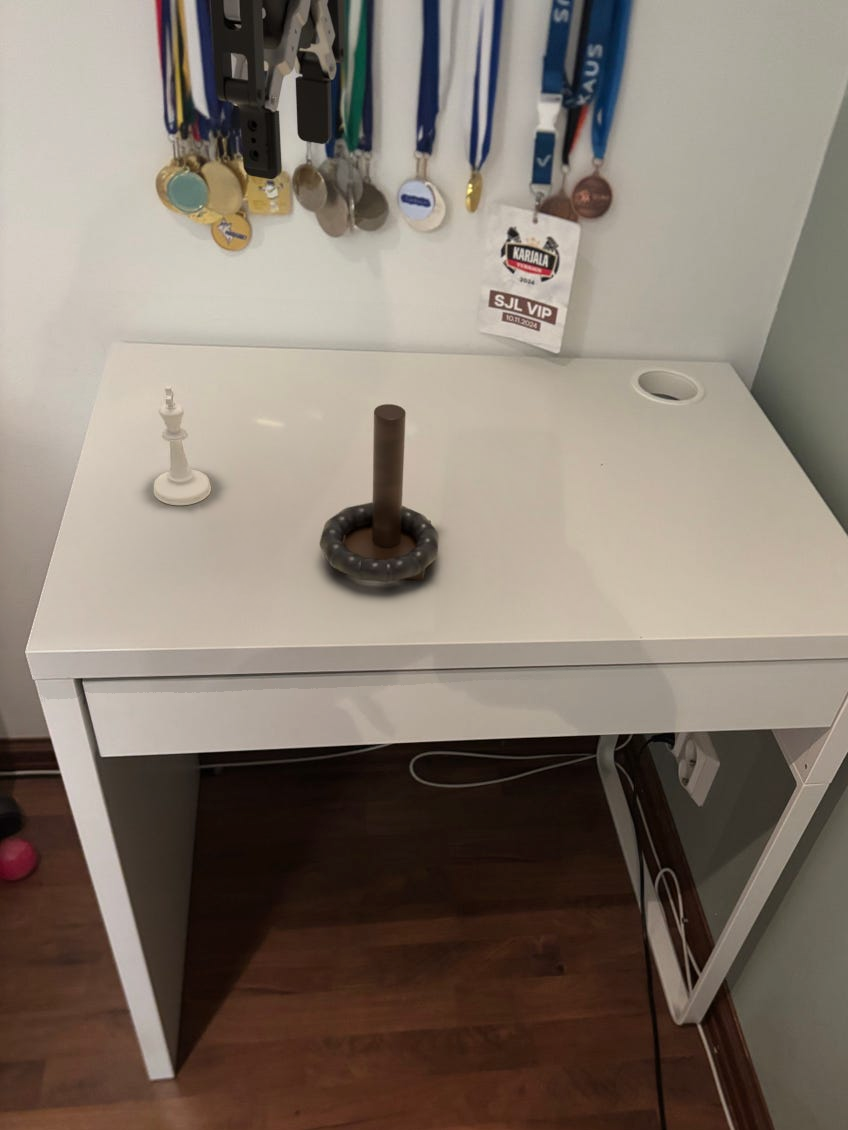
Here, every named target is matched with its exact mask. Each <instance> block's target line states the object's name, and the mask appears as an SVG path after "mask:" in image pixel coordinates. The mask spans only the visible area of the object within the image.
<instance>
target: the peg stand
mask: <svg viewBox="0 0 848 1130" xmlns="http://www.w3.org/2000/svg"><path fill="white" fill-rule="evenodd" d="M405 435H406V410H405V409H404V408H403V407H402V406H399V405H397V404H392V403H385V404H380V405H378V406H376V407H375V408H374V410H373V439H372V441H373V445H372V446H373V447H372V449H373V450H372V453H373V454H372V502H373V508H372V524H370V525H365V526H361V527H356V528H354V529H353V530H351V531H350V532H349V533H347V534H346V535H345V536H344V539H343V543H344V544H345V546H346V547H347V549H348V550H350V551H352V552H354V553H356V554H358V555H360V556H362V557H365V558H376V559H391V558H395V557H399V556H403V555H407V554H408V553H409V552H410V551H411V550H413V549H414V548H415V547H416V543H417V540H416V539H415V537H414V536H413V535H412V534H411V532H408V531H406V530H404V529H402V528H401V518H402V506H403V492H404V491H403V490H404V489H403V487H404V467H405V466H404V465H405V464H404V463H405V462H404V461H405V438H406V436H405ZM428 521H429V522H430V523H431V524H432V521H431V520H430V519H428ZM338 572H339V573H342V572H341V571H339V570H338ZM425 572H426V568H425V569H424V570H422V571H421V572H420V573H419V574H417V575H415V576H412V577H408V578H406V579H407V580H408V579H409V580H419V581H423V580H424V578H425Z"/></svg>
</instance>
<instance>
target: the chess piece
mask: <svg viewBox="0 0 848 1130" xmlns="http://www.w3.org/2000/svg"><path fill="white" fill-rule="evenodd" d="M164 392H165V399H164V401H165V403H164V404H161V406H160V407H159V408H158V414H159V415H160V417H161V419H162V421H163V422H164V424H165V427H166V428H165V429H163V431H162V432H161V438H162V440H164V441H167V442H169V452H170V453H169V460H170V461H169V465H170V466H169V470H168V471H166V472H163V473H162V474H160V475H159V476H158V477H156V478H155V480H154V482H153V495H154V496H155V498H156V499H157V500H158V501H160V502H162V503H165V504H167V505H170V506H171V505H172V506H189V505H193V504H197V503H200V502H202V501H203V500H205V499H206V498H208V497H209V495H210V493H211V491H212V486H211V484H210V483H211V482H210V479H209V477H208V476H207V475H206V474H205V473H204V472H203V473H202V472H201V471H199V470H195V469H191V468H190V466H189V463H188V459H187V455H186V453H185V449H184V445H183V441H185V440H186V439H187V438H188V436H189V433H188V431H187V430H186V429H185V428H183V427H181V425H182V421H183V416H184V413H185V408H184V407H183V405H181V404H179V403H177V402H174V395H175V393H174V389H173V388H172V386H171V385H165V387H164Z"/></svg>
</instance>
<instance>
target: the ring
mask: <svg viewBox="0 0 848 1130" xmlns="http://www.w3.org/2000/svg"><path fill="white" fill-rule="evenodd" d="M372 508H373V501H372V502H367V503H362V504H357V505H352V506H347V507H345V508H342V510H340V511H339V512H338V513H336V514H335V515H333V516H332V517H331V518H329V519H328V520H326V521H325V523H324V526H323V528H322V533H321V536H320V540H319V548H320V551H321V552H322V553H323V555H324V556H325V558H326V559H327V561H328V562H329V564H330V565H331V567H332V568H334V569H336V570H338V572H339V571H341V572H340V573H342V574H346V575H347V576H350V577H352V578H354V579H356V580H358V581H359V580H360V581H368V582H380V583H391V582H395V581H399V580H404V579H407V578H408V577H412V576H415V575H417V574H419V573H420V572H421V571H422V570H424V569H425V570H426V568H427V567H428V566H430V565H431V564H432V563H433V562H434V561H435V560H436V559H437V557H438V551H439V542H440V535H439V532H438V531H437V529H436V528H435V527H434V526H433V524H432V522H431V523H430V522H429V521H428V520H429V519H428V518H427V517H426V516H425V515H424V514H422V513H420V512H418V511H416V510H413V509H412V508H408V507H406V506H404V505H402V518H401V528H402V529H404V530H406V531H408V532H411V534H412V535H413V536H414V537H415V539H416V540H417V543H416V547H415V548H414V549H413V550H411V551H410V552H409V553H408V554H407V555H403V556H399V557H395V558H391V559H376V558H365V557H362V556H360V555H358V554H356V553H354V552H352V551H350V550H348V549H347V547H346V546H345V544H344V543H343V542H344V538H345V535H346V534H347V533H349V532H350V531H351V530H353V529H354V528H356V527H361V526H365V525H370V524H372Z"/></svg>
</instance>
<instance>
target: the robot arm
mask: <svg viewBox="0 0 848 1130" xmlns="http://www.w3.org/2000/svg"><path fill="white" fill-rule="evenodd" d="M209 1H210V17H211V32H212V48H213V63H214V64H213V65H214V80H215V83H214V84H215V93H216V97H217V99H218V100H219V101H223V102H229V103H232V105H233V106H236V107H238V110H239V125H240V135H241V137H240V139H241V152H242V167H243V170H244V171H245V173H246V174H247V175H248V176H250V177H254V178H259V179H260V178H261V179H266V180H274V179H276V178H277V177H279V176H280V175H281V174H282V171H283V166H282V146H281V145H282V144H281V143H282V142H281V124H280V110H277V109H278V107H279V102H280V96H281V91H282V87H283V82H284V81H283V80H284V78H285V77H286V76H288V75H290V74H291V73H292V72H293V71H295V74H297V75H299V76H297V77H295V78H294V79H295V99H296V100H295V104H296V105H295V106H296V130H297V136H298V138H299V139H300V140H301V141H302V142H307V143H314V144H319V145H325V144H326V143H328V142H330V141H331V139H332V137H333V121H332V120H333V119H332V118H333V117H332V115H333V114H332V113H333V112H332V111H333V110H332V109H333V108H332V80H334V79H335V77H336V74H337V63H339V64H343V63H344V62H345V59H346V55H347V50H346V49H347V48H346V45H347V44H346V10H345V9H346V8H345V7H346V5H345V4H346V3H345V0H209ZM232 56H233V58H234V59H235V60H236V61H235V63H236V64H235V67H234V72H233V64H232V63H233V62H232V61H233V60H232ZM265 72H266V77H265Z"/></svg>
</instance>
